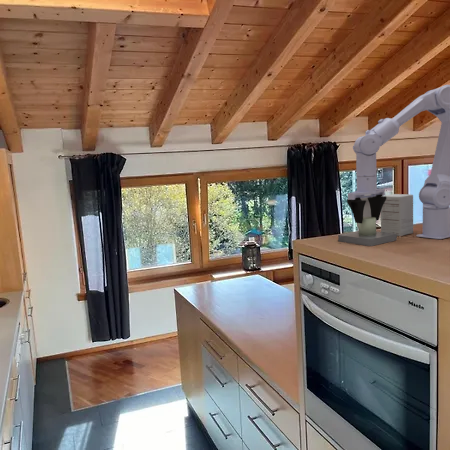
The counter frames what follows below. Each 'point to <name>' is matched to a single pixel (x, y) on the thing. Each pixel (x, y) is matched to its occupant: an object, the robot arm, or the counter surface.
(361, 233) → the green cylinder
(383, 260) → the counter surface
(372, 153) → the robot arm
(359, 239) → the slate base
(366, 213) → the salt shaker
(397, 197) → the supplement box
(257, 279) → the counter surface
